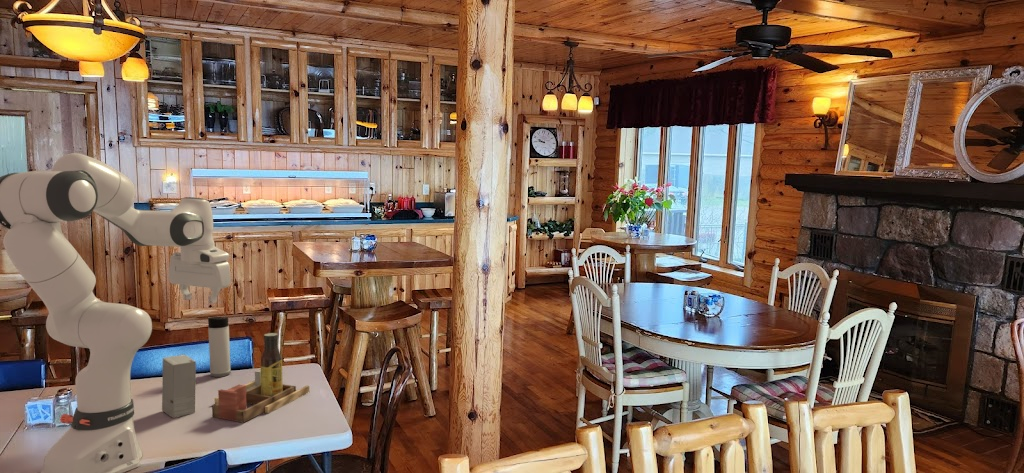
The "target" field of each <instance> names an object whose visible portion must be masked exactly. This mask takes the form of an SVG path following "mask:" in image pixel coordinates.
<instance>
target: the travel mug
mask: <svg viewBox="0 0 1024 473" xmlns="http://www.w3.org/2000/svg"><path fill="white" fill-rule="evenodd" d="M207 323H208V327H207V328H208V330H207V331H208V346H209V347H208V351H209V370H210V371H209V372H210V377H213V378H221V377H222V378H223V377H227V376H229V375H230V374H231V373H232V372H231V370H232V369H231V350H230V348H231V346H230V326H229V325H230V324H229V317H227V316H226V317H221V316H215V317H214V316H212V317H208V318H207Z"/></svg>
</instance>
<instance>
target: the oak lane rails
mask: <svg viewBox="0 0 1024 473" xmlns="http://www.w3.org/2000/svg"><path fill="white" fill-rule="evenodd" d="M244 385H245V386H246V389H248V388H250V387H253V386H255V379H254V380H253V381H250V382H248V383H246V384H244ZM308 392H309V393H310V385H305V386H303V387H301V388H299V389H296V391H295V392H293V393H291V394H289V395H287V396H285V397H283V398H281V399H279V400H277V401H275V402H273V403H271V404H269V405H267V406H265V412H264V414H270V413H272V412H274V411H276V410H278V409H280V408H281V407H284V406H286V405H287V404H290V403H291V402H293V401H295V400H297V399H298V398H301V397H303V396H305V395H307V394H309V393H308ZM306 393H307V394H306ZM302 395H303V396H302ZM216 404H219V395H218V396H215V397H214V405H216Z"/></svg>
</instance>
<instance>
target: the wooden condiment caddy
mask: <svg viewBox="0 0 1024 473" xmlns="http://www.w3.org/2000/svg"><path fill="white" fill-rule="evenodd" d="M296 388H297V386H296V385H291V384H284V383H283V391H282V392H280V393H278V394H276V395H274V396H266V395H262V394H261V385H258V386H256V387H254V388H252V389H250V390H247V391H246V386H245V384H237V385H235V386H232V387H230V388H228V389H219V390H217V391H218V392H217V393H218V396H219V404H216V405H215V404H214V405H212V406H211V410H212V412H211V413H212V414H211V415H212V417H213V418H217V419H222V420H229V421H235V422H239V423H245V422H247V421H249V420H252V419H253V418H256V417H257V416H259V415H261V414H263V413H265V406H267V405H269V404H271V403H273V402H275V401H277V400H279V399H281V398H283V397H285V396H287V395H289V394H291V393H293V392H295V391H297V389H296ZM247 404H249V405H251V406H250V407H247Z"/></svg>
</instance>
